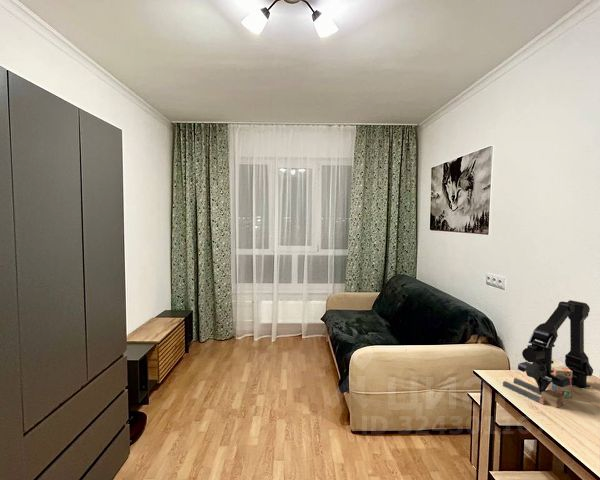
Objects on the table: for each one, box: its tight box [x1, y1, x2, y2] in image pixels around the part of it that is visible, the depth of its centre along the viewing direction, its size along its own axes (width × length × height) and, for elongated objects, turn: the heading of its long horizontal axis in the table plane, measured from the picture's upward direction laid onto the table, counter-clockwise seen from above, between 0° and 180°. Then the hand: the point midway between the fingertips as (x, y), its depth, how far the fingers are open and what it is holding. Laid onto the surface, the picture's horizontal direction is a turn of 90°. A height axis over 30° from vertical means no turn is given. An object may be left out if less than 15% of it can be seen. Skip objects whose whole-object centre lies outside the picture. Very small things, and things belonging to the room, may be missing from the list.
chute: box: [502, 377, 546, 405], centre depth 158 cm, size 9×18×2 cm, turn 24°
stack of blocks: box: [546, 358, 573, 399], centre depth 163 cm, size 21×6×12 cm, turn 169°
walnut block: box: [540, 389, 565, 409], centre depth 149 cm, size 5×6×4 cm
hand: (541, 393), depth 152 cm, fingers closed
